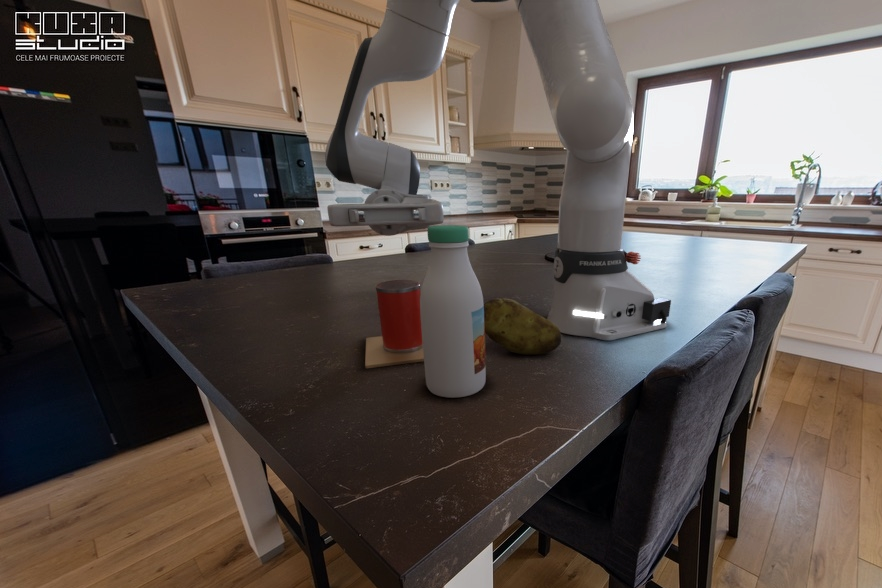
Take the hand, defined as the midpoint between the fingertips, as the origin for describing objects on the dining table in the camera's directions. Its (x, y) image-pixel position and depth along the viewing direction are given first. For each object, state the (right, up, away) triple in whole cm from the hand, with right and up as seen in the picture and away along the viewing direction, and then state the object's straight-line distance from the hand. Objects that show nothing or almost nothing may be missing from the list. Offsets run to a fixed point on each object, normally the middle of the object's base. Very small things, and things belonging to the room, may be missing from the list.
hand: (389, 215), depth 67 cm
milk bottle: (+14, -27, -15) cm, 34 cm away
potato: (+22, -23, -4) cm, 32 cm away
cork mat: (+4, -22, -4) cm, 23 cm away
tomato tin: (+4, -22, -4) cm, 23 cm away
